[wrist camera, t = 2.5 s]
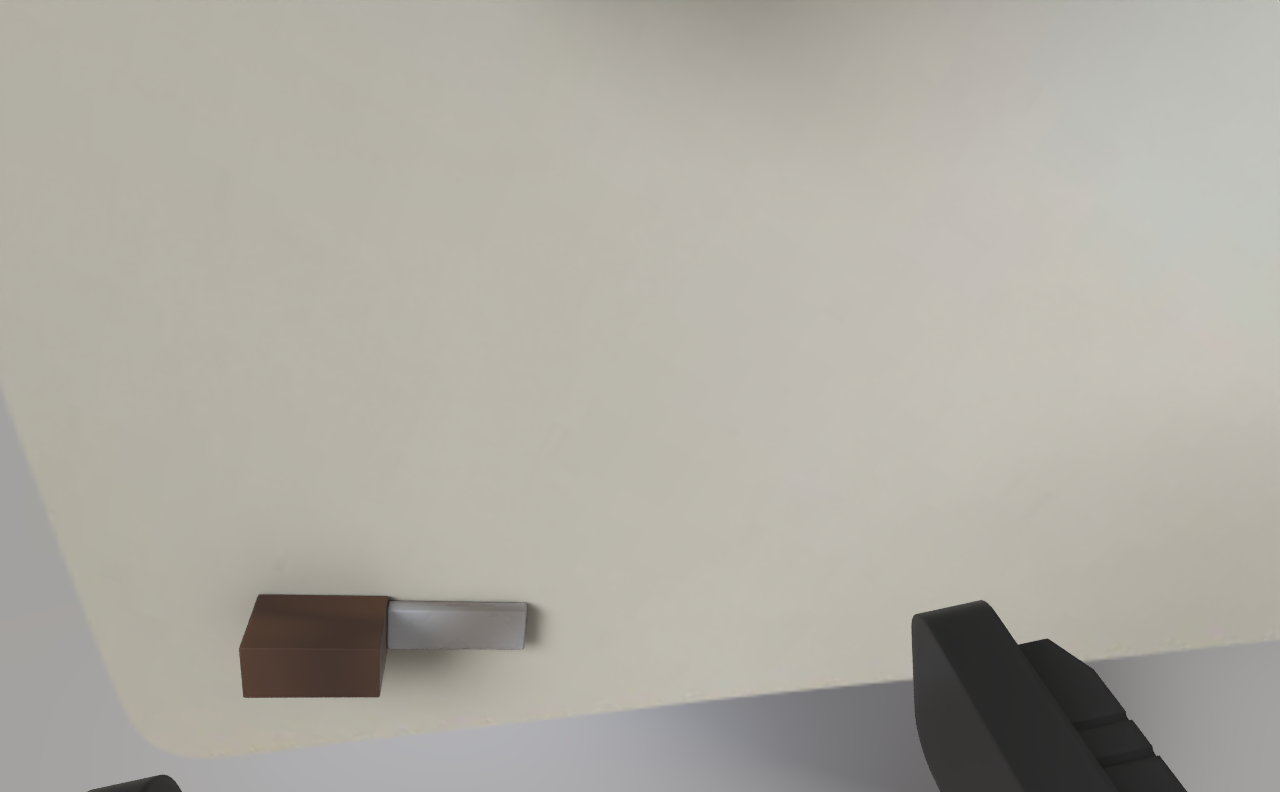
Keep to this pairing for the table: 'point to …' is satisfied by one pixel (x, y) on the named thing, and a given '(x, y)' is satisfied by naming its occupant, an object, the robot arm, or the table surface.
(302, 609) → the knife
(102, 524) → the table surface
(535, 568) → the table surface
